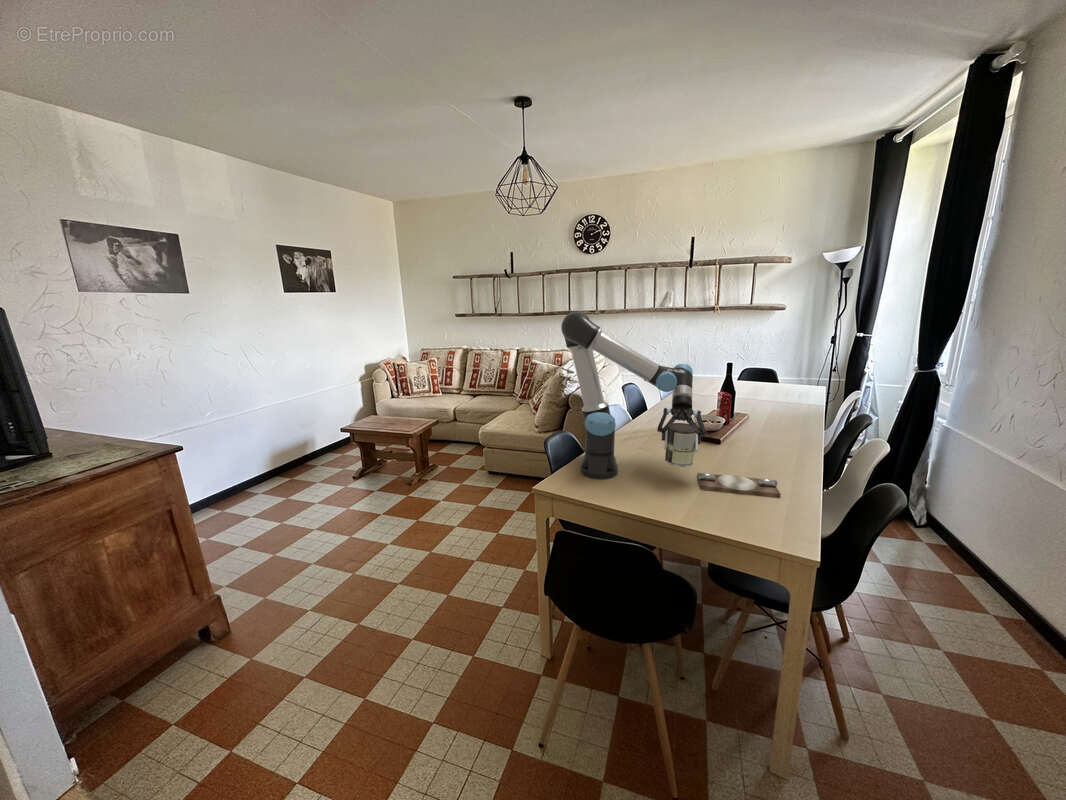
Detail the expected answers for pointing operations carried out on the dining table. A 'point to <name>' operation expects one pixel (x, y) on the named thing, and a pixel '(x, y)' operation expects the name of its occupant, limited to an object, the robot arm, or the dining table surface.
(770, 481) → the shaft stubs
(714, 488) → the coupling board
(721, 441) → the dining table surface
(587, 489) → the dining table surface
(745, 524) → the dining table surface
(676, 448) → the coffee can
